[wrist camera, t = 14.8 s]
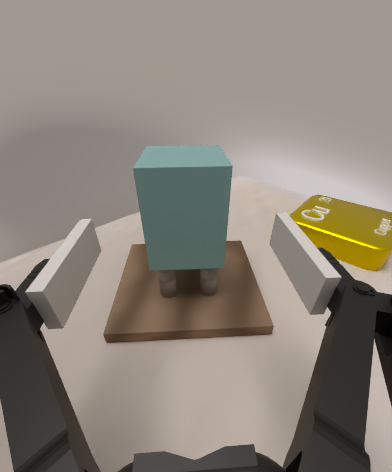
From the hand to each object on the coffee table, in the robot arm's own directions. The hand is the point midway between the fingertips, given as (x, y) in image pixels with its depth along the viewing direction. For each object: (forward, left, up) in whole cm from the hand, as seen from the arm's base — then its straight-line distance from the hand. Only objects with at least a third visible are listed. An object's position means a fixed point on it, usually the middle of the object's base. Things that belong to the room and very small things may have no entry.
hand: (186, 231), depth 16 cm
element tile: (+28, +19, -15) cm, 37 cm away
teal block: (0, +8, -7) cm, 11 cm away
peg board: (0, +8, -14) cm, 16 cm away
